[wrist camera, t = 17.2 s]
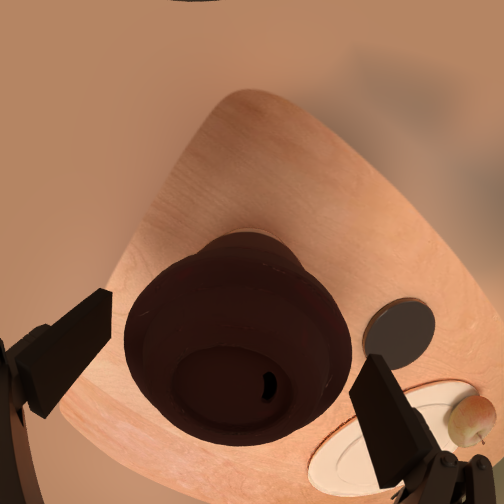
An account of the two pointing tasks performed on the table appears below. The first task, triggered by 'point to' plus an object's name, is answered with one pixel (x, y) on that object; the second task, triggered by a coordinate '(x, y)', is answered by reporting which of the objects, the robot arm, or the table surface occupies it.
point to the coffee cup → (238, 342)
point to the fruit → (471, 421)
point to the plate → (355, 450)
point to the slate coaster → (400, 332)
